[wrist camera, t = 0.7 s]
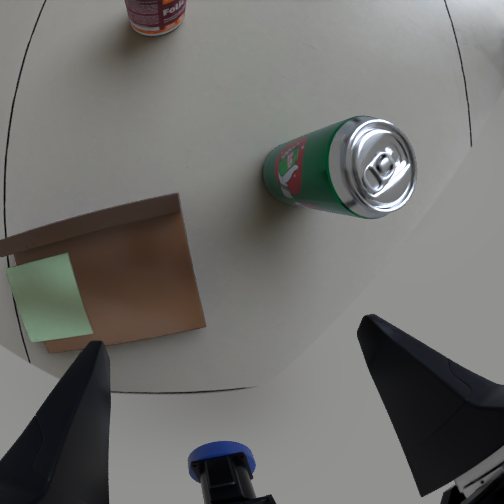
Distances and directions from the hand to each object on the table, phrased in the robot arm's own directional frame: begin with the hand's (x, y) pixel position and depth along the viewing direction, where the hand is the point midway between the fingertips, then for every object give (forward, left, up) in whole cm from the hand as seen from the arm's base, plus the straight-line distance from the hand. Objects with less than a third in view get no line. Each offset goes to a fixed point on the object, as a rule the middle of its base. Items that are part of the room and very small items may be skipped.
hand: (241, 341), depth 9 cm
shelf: (0, +8, -14) cm, 17 cm away
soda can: (+5, -8, -15) cm, 17 cm away
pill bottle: (+21, +1, -15) cm, 25 cm away
